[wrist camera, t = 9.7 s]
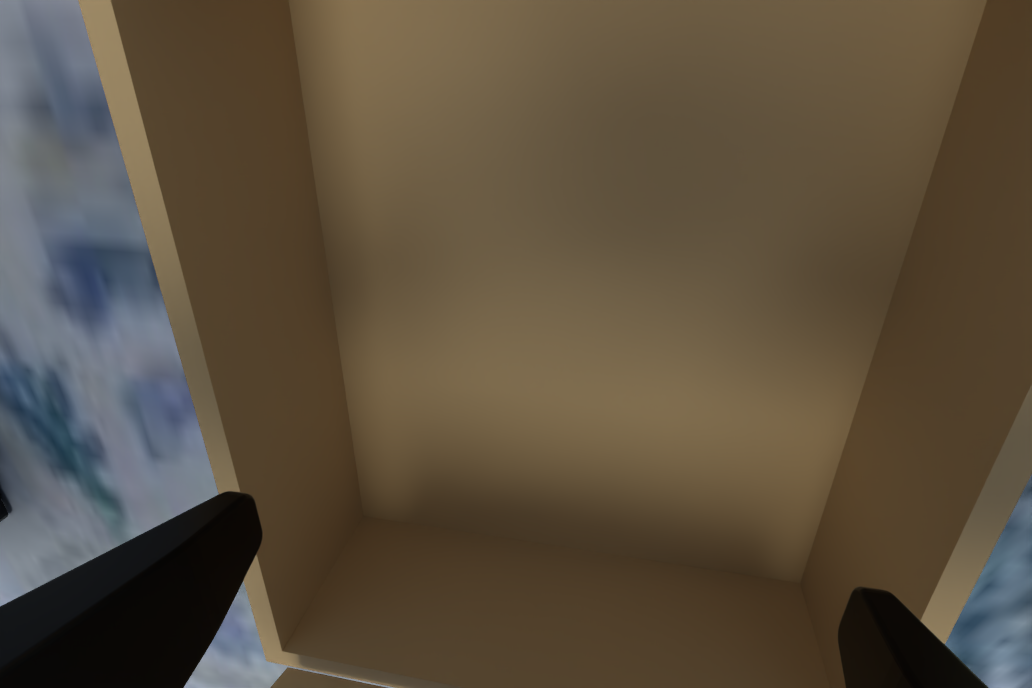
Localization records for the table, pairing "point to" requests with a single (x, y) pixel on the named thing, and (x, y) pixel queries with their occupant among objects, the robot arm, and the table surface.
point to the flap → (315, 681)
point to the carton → (592, 318)
